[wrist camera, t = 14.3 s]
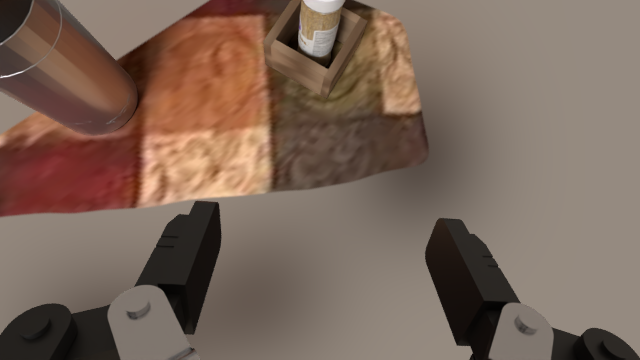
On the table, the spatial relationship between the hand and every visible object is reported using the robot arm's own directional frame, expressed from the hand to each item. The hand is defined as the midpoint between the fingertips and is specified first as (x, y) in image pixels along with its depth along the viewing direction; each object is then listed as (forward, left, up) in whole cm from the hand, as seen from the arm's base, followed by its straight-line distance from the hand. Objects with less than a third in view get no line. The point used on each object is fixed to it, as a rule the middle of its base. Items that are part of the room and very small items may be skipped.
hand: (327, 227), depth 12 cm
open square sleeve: (-10, +21, -28) cm, 37 cm away
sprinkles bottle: (-10, +21, -28) cm, 37 cm away
